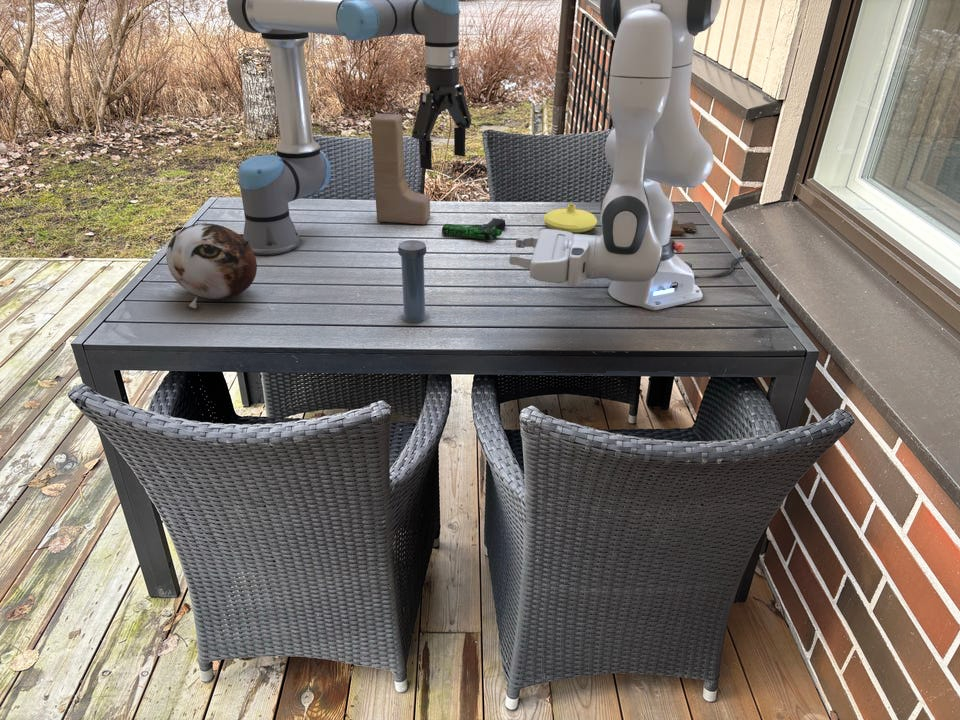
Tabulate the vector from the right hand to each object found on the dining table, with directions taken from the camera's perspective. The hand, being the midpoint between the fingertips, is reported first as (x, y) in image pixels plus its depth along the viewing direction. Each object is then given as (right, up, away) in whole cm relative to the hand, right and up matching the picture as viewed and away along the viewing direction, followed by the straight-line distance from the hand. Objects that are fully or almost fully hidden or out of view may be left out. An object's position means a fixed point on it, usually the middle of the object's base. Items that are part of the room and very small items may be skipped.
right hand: (513, 250), depth 149 cm
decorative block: (-30, +20, +67) cm, 76 cm away
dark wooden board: (+44, +16, +63) cm, 78 cm away
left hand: (-16, +24, +21) cm, 36 cm away
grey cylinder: (-22, -13, +12) cm, 28 cm away
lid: (-21, +1, +4) cm, 22 cm away
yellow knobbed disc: (+20, +16, +62) cm, 67 cm away
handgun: (-8, +14, +59) cm, 61 cm away
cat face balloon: (-69, -8, +20) cm, 72 cm away
